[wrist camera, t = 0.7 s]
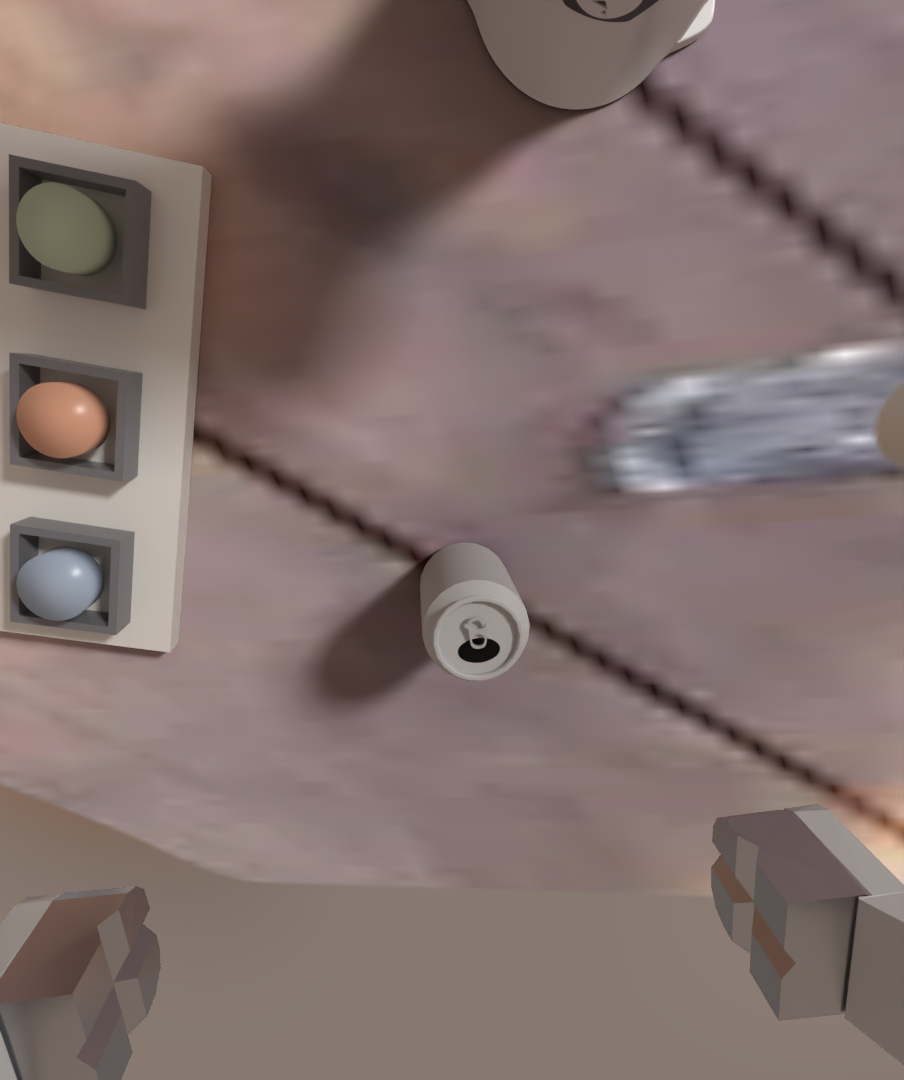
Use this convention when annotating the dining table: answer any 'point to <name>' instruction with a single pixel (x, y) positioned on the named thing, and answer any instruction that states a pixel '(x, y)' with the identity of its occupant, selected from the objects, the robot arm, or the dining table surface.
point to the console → (104, 385)
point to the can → (471, 613)
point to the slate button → (60, 583)
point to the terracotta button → (63, 419)
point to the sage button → (66, 229)
